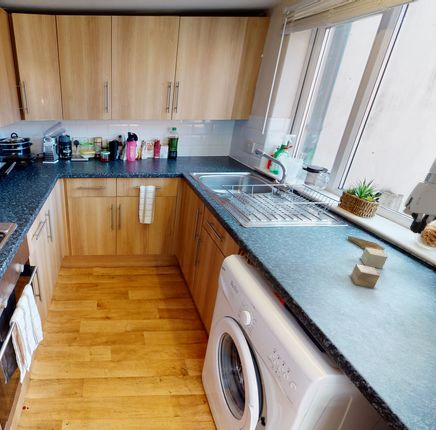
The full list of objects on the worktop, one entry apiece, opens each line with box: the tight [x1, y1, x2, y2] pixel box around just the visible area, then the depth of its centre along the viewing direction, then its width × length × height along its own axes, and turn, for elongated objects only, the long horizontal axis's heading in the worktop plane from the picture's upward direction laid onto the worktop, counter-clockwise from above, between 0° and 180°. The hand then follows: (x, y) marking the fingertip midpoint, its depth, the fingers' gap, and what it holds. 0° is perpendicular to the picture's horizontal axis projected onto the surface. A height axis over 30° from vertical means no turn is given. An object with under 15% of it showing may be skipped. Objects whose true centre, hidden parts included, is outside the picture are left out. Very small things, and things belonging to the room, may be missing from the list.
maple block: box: [350, 263, 381, 289], centre depth 95 cm, size 5×5×5 cm
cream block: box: [360, 247, 388, 269], centre depth 105 cm, size 5×5×5 cm
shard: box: [347, 235, 385, 252], centre depth 118 cm, size 11×8×2 cm
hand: (415, 231), depth 97 cm, fingers closed
